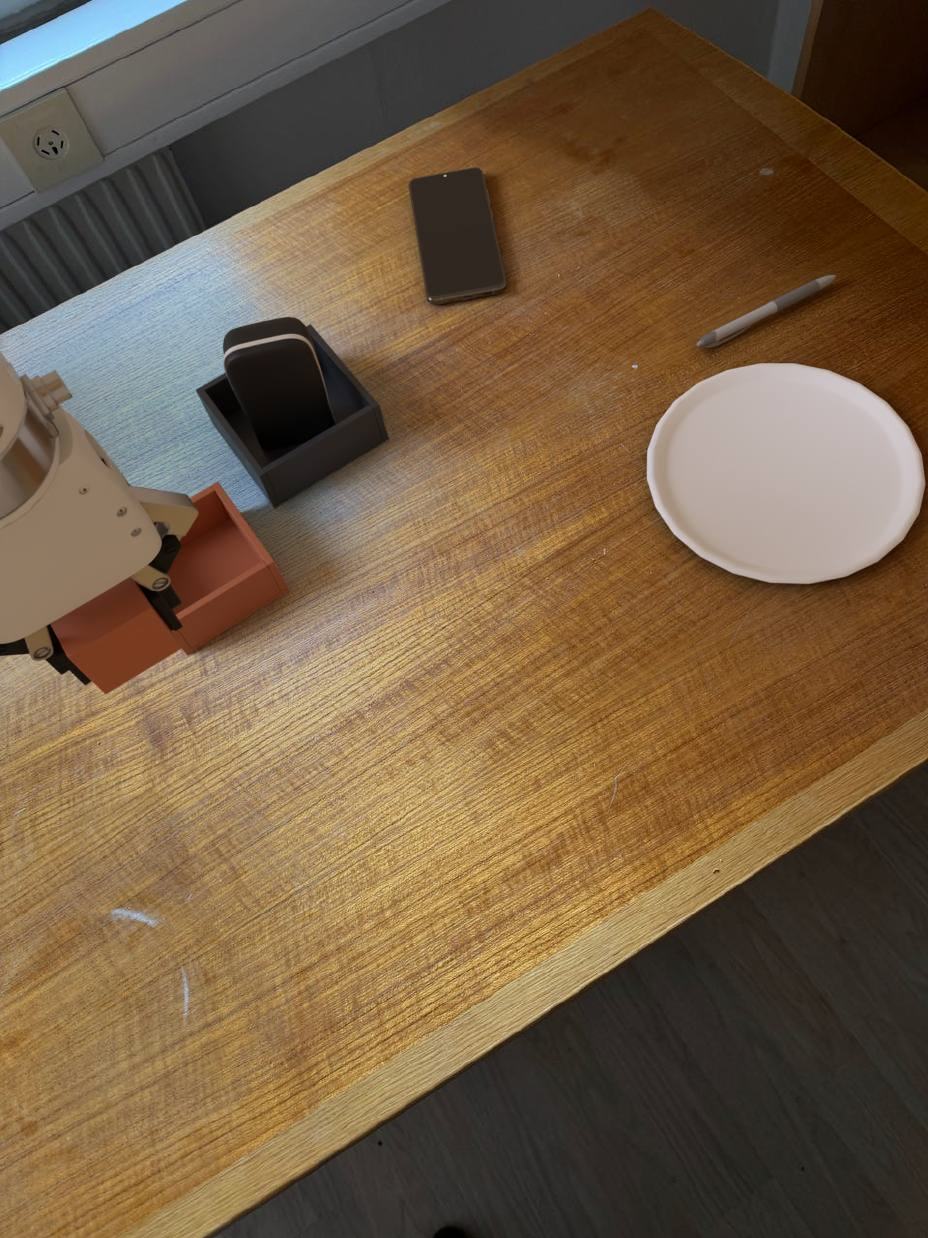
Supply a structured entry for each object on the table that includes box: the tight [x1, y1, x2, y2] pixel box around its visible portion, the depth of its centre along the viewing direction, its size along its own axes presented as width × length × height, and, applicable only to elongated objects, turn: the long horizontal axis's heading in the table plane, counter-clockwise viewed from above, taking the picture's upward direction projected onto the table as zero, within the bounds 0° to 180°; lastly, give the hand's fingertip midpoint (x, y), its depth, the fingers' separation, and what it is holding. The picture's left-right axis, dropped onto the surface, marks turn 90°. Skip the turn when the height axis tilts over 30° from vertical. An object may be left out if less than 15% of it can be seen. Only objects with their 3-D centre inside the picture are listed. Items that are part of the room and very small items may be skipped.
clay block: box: [50, 578, 182, 695], centre depth 59 cm, size 5×5×5 cm
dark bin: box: [195, 323, 390, 509], centre depth 86 cm, size 11×11×4 cm
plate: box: [646, 362, 926, 586], centre depth 80 cm, size 21×21×1 cm
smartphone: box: [408, 166, 508, 306], centre depth 96 cm, size 7×1×16 cm
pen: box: [696, 274, 837, 349], centre depth 88 cm, size 1×14×1 cm, turn 118°
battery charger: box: [222, 316, 337, 450], centre depth 83 cm, size 7×4×11 cm, turn 101°
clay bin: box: [153, 481, 290, 655], centre depth 80 cm, size 9×9×4 cm
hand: (123, 636), depth 60 cm, fingers closed on clay block, 5 cm apart
